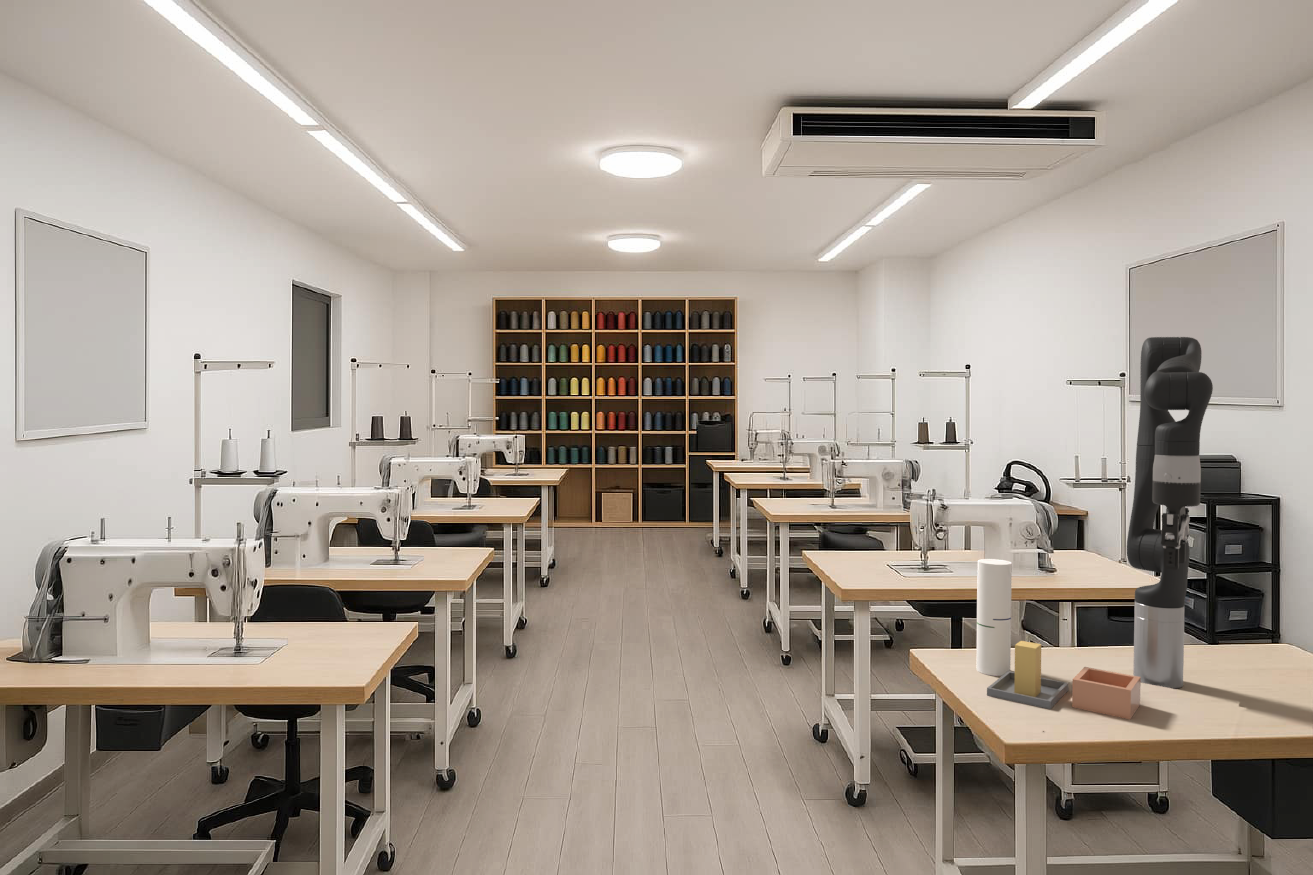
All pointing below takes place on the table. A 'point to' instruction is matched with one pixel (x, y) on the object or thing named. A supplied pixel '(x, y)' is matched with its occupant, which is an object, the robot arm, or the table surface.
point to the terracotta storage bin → (1106, 692)
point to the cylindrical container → (993, 616)
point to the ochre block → (1027, 668)
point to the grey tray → (1044, 699)
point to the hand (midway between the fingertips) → (1174, 565)
